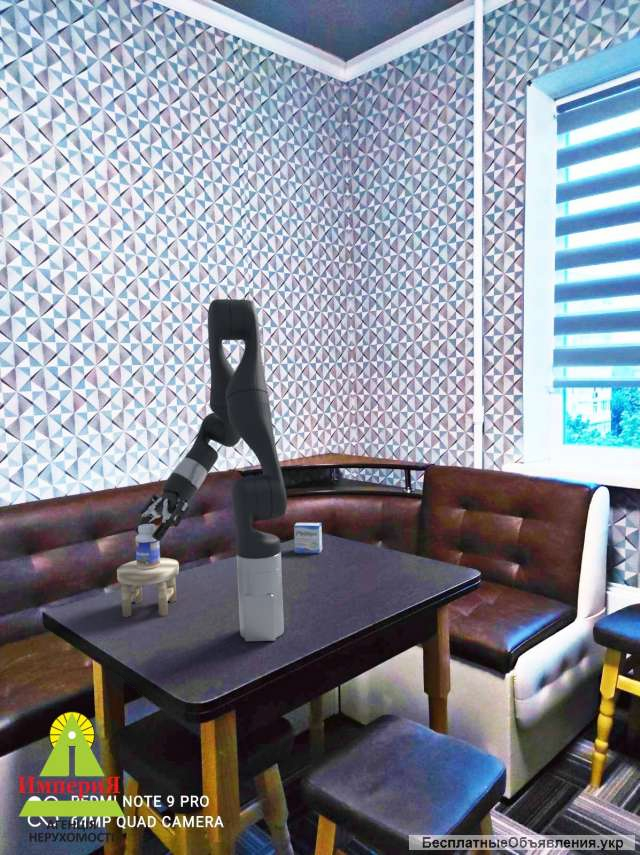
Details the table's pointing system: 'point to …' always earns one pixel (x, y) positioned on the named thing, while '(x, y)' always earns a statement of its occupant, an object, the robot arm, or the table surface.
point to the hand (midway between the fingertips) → (145, 535)
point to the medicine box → (308, 537)
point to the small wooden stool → (138, 577)
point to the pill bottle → (147, 547)
